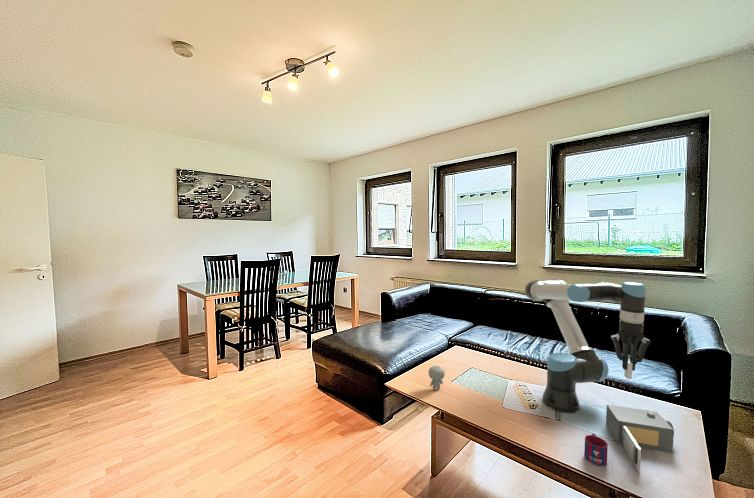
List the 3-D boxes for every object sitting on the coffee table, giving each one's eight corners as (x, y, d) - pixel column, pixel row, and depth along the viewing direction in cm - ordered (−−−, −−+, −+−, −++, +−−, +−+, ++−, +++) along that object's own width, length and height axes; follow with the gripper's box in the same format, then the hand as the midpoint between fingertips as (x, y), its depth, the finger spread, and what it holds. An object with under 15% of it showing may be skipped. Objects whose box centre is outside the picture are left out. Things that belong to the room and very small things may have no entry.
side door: (620, 443, 119) (620, 424, 119) (624, 444, 118) (625, 425, 118) (635, 469, 106) (636, 448, 105) (640, 470, 105) (641, 449, 105)
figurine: (439, 385, 166) (439, 363, 166) (446, 391, 159) (447, 369, 158) (426, 387, 164) (426, 365, 163) (433, 394, 156) (433, 371, 156)
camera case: (617, 443, 119) (618, 418, 119) (606, 424, 131) (606, 402, 130) (681, 455, 113) (682, 428, 113) (663, 434, 125) (664, 410, 124)
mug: (584, 460, 111) (584, 442, 110) (584, 445, 119) (585, 428, 118) (607, 469, 107) (608, 450, 106) (606, 452, 115) (606, 434, 115)
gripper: (615, 322, 123) (612, 379, 125) (656, 325, 119) (652, 384, 121) (608, 316, 130) (605, 370, 132) (646, 319, 126) (643, 375, 128)
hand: (627, 377), depth 126 cm, fingers closed
